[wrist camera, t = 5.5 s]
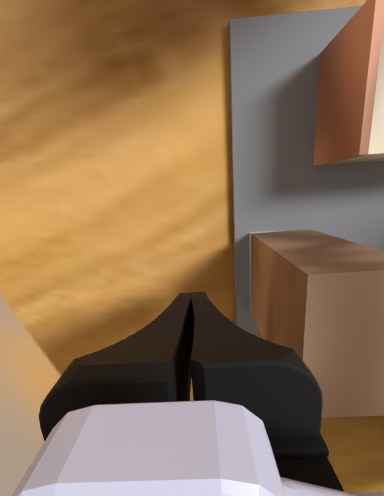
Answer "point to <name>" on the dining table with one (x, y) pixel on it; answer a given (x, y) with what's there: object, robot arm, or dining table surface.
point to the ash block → (352, 91)
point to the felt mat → (290, 143)
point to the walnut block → (324, 312)
